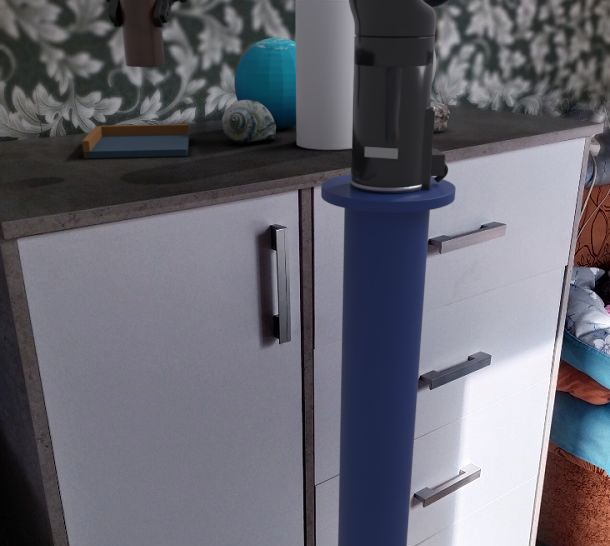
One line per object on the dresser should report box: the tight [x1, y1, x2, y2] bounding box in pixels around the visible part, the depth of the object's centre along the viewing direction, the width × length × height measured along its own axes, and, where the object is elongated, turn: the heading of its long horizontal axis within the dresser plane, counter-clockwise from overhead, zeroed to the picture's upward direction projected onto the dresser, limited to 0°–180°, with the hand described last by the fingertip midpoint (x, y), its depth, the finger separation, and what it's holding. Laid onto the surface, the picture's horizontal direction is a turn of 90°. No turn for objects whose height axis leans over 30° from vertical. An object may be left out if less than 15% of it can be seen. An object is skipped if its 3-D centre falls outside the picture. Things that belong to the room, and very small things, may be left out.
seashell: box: [221, 100, 277, 145], centre depth 123 cm, size 6×8×12 cm
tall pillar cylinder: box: [294, 0, 356, 151], centre depth 117 cm, size 11×11×25 cm
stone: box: [431, 101, 451, 133], centre depth 133 cm, size 13×6×10 cm
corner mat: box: [81, 123, 190, 159], centre depth 119 cm, size 15×15×2 cm
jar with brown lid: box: [119, 0, 166, 68], centre depth 101 cm, size 5×5×12 cm
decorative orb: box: [233, 37, 296, 130], centre depth 134 cm, size 15×15×15 cm
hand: (137, 22), depth 100 cm, fingers closed on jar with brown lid, 5 cm apart
